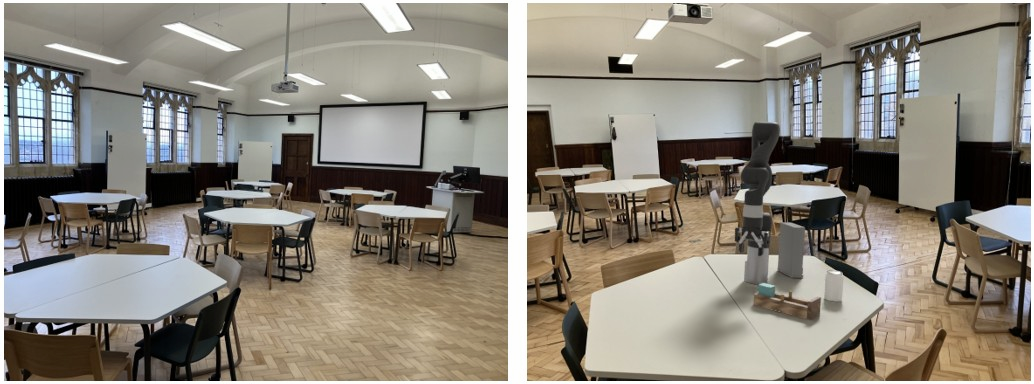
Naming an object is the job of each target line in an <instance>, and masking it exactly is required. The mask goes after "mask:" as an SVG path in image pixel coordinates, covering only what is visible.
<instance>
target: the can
mask: <svg viewBox="0 0 1034 384" xmlns="http://www.w3.org/2000/svg"><path fill="white" fill-rule="evenodd" d="M843 291H844V275H843V272H842V271H839V270H833V269H832V270H830V269H829V270H827V272H826V274H825V278H824V295H823V296H824V297H823V298H824V300H825V301H828V302H833V303H834V302H835V303H839V302H842V300H843Z"/></svg>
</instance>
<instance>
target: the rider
mask: <svg viewBox="0 0 1034 384" xmlns="http://www.w3.org/2000/svg"><path fill="white" fill-rule="evenodd" d="M757 285H758V287H757V289H758V290H757V294H761V295H765V296H769V297H773V298H775V293H776V285H773V284H769V283H767V284H766V283H762V284H757Z"/></svg>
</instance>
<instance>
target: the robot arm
mask: <svg viewBox="0 0 1034 384" xmlns="http://www.w3.org/2000/svg"><path fill="white" fill-rule="evenodd" d="M780 133H781V127H780V124H779V123H778V122H775V121H755V122H754V123H753V124H752V130H751V155H750V156H751V157H750V159H749V162H747V164H746V165H745V166H744V167H743V169H742V170H741V172H740V180H741V182H742V183H743V184H745V185H748V190H746V191H745V192H744V198H743V199H744V200H743V201H744V202H743V204H744V205H743V210H742V227H739V226H738V227H735V228H734V242H737V243H738V251H739V253H741V254H743V253H744V252H745V242H746V241H747V240H748V241H747V255H746V260H745V261H744V274H743V275H744V276H743V281H744V282H747V283H749V284H753V285H759V284H762V283H766V284H768V279H769V278H768V276H769V258H770V243H771V233H772V225H773V220H772V219H773V218H772V215H771V214H770V213H769V212H764V207H763V206H764V196H765V195H766V194H767V193H768V191H769V190H770V188H771V186H772V178H773V177H772V176H773V171H772V167H771V165H770V164H769V160H770V158H771V157H770V156H771V154H772V152H773V151H774V149H775V147H776V145H777V143H778V140H779V138H780ZM761 143H762V144H761ZM741 233H742V234H743V235H742V236H741Z"/></svg>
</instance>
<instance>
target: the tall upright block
mask: <svg viewBox="0 0 1034 384" xmlns="http://www.w3.org/2000/svg"><path fill="white" fill-rule="evenodd" d="M779 225H780V226H779V239H778V240H779V242H778V243H779V244H778V257H777V259H778V260H777V267H776V268H777V272H781V273H783V274H784V275H786V276H787V277H789V278H790V279H793V278H794V279H795V278H796V279H797V278H798V279H799V278H800V279H802V278H804V275H803V273H804V266H803V265H804V251H805V250H804V249H805V235H806V234H805V233H806V227H805V226H802V225H799V224H796V223H793V222H781V221H780V224H779Z"/></svg>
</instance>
